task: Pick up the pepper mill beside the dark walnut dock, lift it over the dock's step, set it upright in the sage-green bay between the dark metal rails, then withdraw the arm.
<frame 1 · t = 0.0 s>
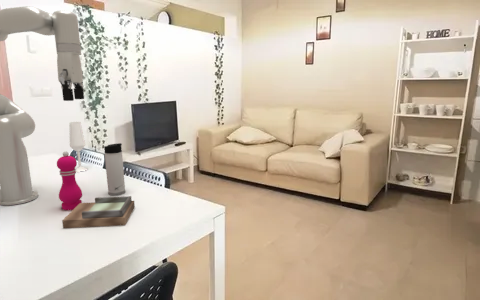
hand: (74, 99, 113), 37 cm above the table, tool pointing down, fingers open, 9 cm apart
dock: (101, 217, 103), on the table
travel mug: (117, 193, 125), on the table
champagne flute: (80, 170, 157), on the table
pepper mill: (72, 207, 111), on the table
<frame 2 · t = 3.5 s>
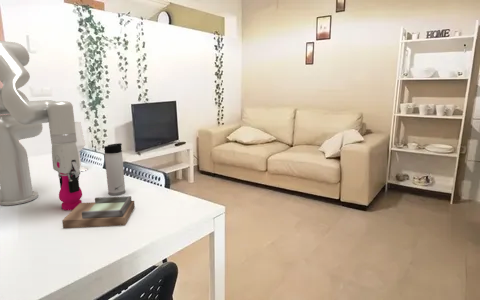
hand: (70, 189, 110), 7 cm above the table, tool pointing down, fingers closed on pepper mill, 5 cm apart
pepper mill: (72, 207, 111), on the table, touching gripper
everything else where it was.
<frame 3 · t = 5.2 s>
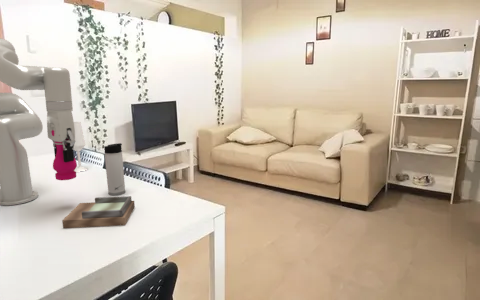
hand: (64, 159, 107), 17 cm above the table, tool pointing down, fingers closed on pepper mill, 5 cm apart
pepper mill: (66, 178, 109), point 10 cm above the table, touching gripper
everything else where it was.
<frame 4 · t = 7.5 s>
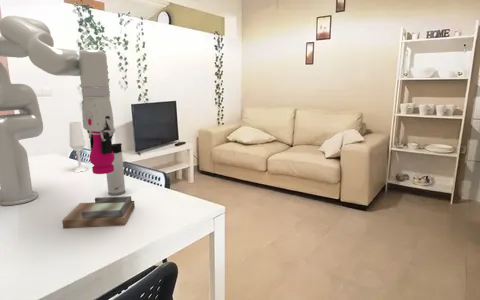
hand: (101, 151, 98), 22 cm above the table, tool pointing down, fingers closed on pepper mill, 5 cm apart
pepper mill: (103, 172, 100), point 15 cm above the table, touching gripper
everything else where it was.
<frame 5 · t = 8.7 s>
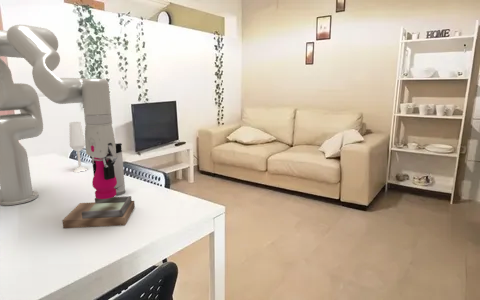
hand: (104, 176, 100), 14 cm above the table, tool pointing down, fingers closed on pepper mill, 5 cm apart
pepper mill: (106, 196, 101), point 7 cm above the table, touching gripper
everything else where it was.
when the fingers open (10 cm above the table, at t = 10.2 s): pepper mill drops 1 cm, resting on dock.
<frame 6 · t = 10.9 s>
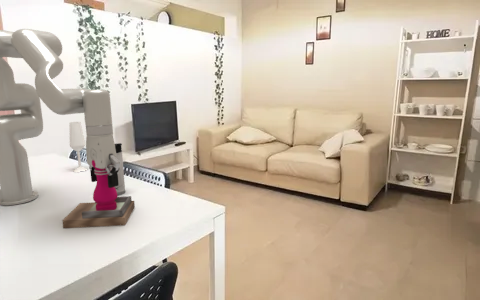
hand: (104, 183, 100), 11 cm above the table, tool pointing down, fingers open, 9 cm apart
pepper mill: (106, 209, 102), point 3 cm above the table, touching dock
everything else where it was.
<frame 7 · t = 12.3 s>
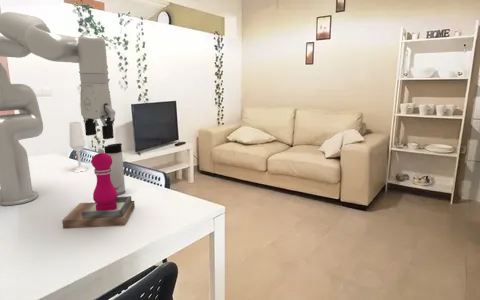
hand: (99, 136, 97), 26 cm above the table, tool pointing down, fingers open, 9 cm apart
nothing on the table moved.
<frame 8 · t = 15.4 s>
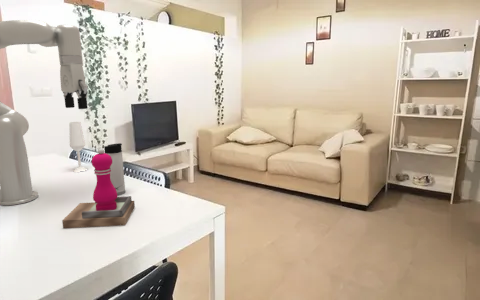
hand: (76, 108, 119), 33 cm above the table, tool pointing down, fingers open, 9 cm apart
nothing on the table moved.
at the end: pepper mill inside the target area on the dock (0.4 cm from its centre), point 2.5 cm above the dock's base; pepper mill tilted 0°; the gripper is holding nothing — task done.
